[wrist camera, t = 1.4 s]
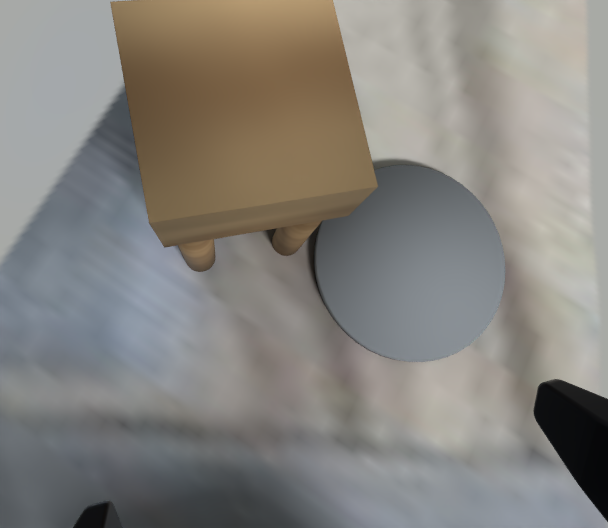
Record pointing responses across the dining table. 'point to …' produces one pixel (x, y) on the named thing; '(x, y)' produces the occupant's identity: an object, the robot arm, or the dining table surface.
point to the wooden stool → (241, 119)
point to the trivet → (412, 266)
